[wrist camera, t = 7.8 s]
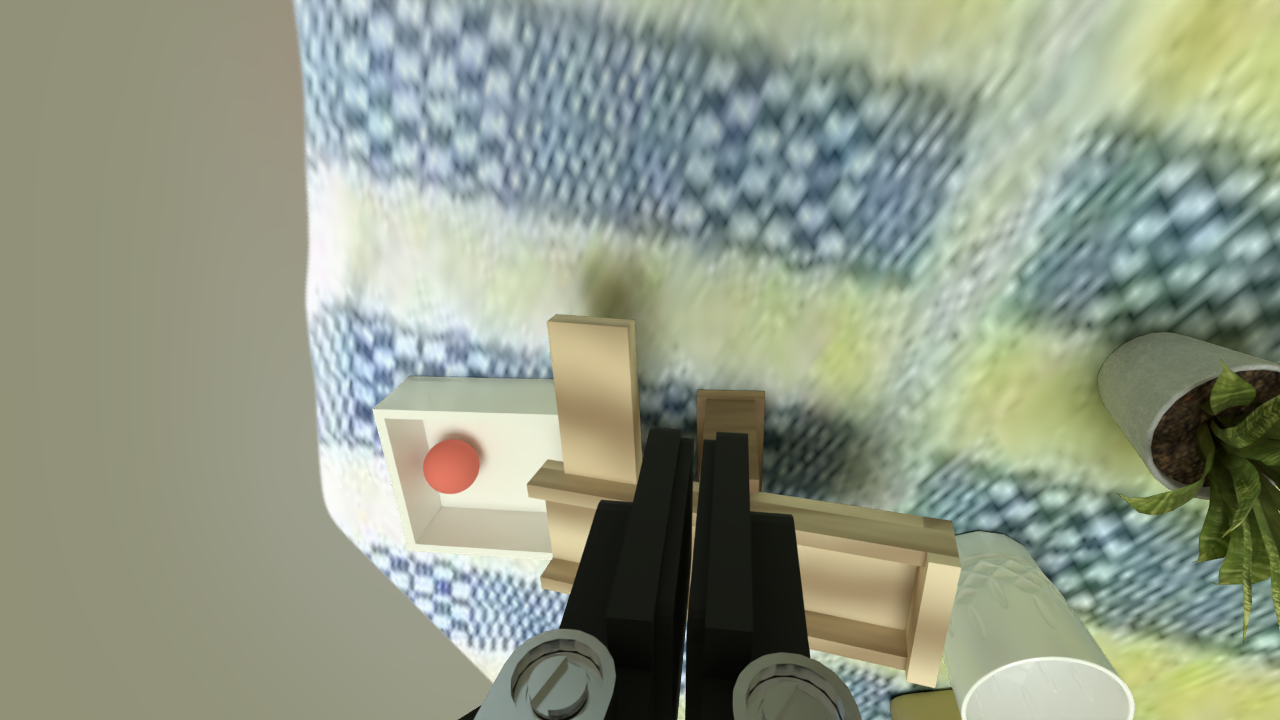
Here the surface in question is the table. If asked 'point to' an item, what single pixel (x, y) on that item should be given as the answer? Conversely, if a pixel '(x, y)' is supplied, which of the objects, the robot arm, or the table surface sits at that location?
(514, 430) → the dish
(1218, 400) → the house plant
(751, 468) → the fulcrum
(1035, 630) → the white cup
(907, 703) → the cheese
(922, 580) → the lever
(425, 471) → the ball
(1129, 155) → the table surface
